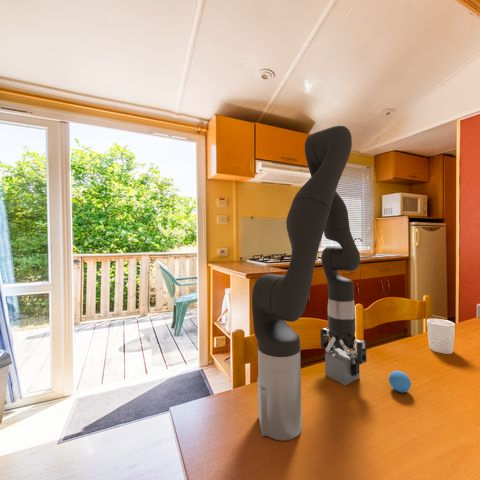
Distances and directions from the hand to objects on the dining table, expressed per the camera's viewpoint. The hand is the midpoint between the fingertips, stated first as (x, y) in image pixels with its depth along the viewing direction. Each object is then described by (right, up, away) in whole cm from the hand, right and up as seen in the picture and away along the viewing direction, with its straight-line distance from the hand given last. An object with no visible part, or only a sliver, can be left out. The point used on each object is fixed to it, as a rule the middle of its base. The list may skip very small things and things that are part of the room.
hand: (342, 369), depth 76 cm
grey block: (0, -2, 0) cm, 2 cm away
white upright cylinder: (+41, -1, +16) cm, 44 cm away
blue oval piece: (+12, +1, -8) cm, 14 cm away
